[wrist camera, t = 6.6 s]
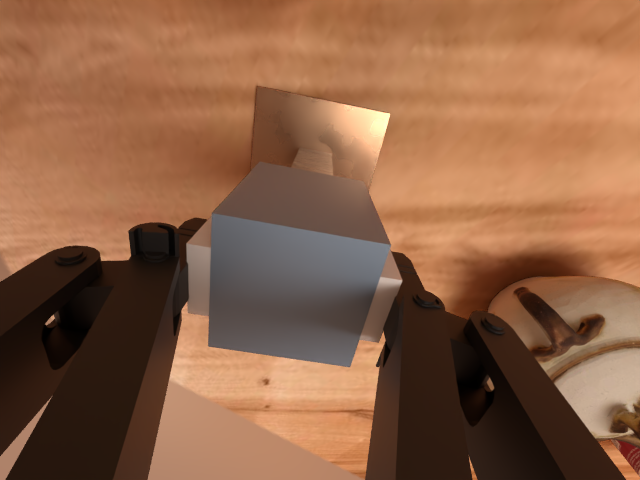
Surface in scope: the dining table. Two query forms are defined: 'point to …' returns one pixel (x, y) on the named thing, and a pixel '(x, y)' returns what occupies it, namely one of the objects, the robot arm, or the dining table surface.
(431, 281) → the dining table surface
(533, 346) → the sugar bowl
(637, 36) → the dining table surface
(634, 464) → the pill bottle
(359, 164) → the brown square peg base
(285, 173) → the grey rectangular block
